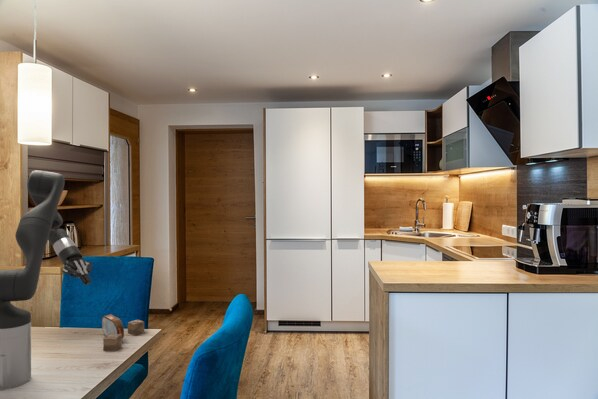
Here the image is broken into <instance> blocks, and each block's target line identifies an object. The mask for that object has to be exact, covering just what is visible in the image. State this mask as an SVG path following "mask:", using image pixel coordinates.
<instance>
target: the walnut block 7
mask: <svg viewBox="0 0 598 399" xmlns="http://www.w3.org/2000/svg"><path fill="white" fill-rule="evenodd" d="M127 333H128V335H132V336H138V335H141V334H144V333H145V321H143V320H140V319H135V320H131V321H127Z"/></svg>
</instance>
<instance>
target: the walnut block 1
mask: <svg viewBox="0 0 598 399" xmlns="http://www.w3.org/2000/svg"><path fill="white" fill-rule="evenodd" d="M102 340H103V352H116V350H117V351H118V350H119V349H120V348H122V347H123V339H122V334H109V335H108V336H105V337H104V338H103V339H102ZM121 346H122V347H121Z"/></svg>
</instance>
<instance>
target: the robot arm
mask: <svg viewBox="0 0 598 399" xmlns="http://www.w3.org/2000/svg"><path fill="white" fill-rule="evenodd" d="M65 179H66V178H65V177H64V175H63V174H61V173H58V172H52V171H45V170H37V169H35V170H32V171H30V173H29V175H28V179H27V183H26V184H27V186H26V187H27V192H28V194H29V196H30V198H31V200H32V201H33V204H34V205H35V207H33V208H32V209H30V210H28V211H27V212H26V213H24V215H23V216H21V218H20V219H19V222H18V224H17V228H16V231H15V241H16V243H17V244H18V246H19V248H20V249H21V251H22V253H23V255H24V257H25V260H26V261H25V262H26V264H25V267H24V268H22V269H2V270H0V390H1V391H3V390H6V389H11V388H15V387H19V386H21V385H24V384H26V383H27V382H29V381H30V380H31V379H32V314H31V311H29V310H26V309H22V308H19V307H17V306H16V305H13V304H12V302H22V301H23V302H24V301H28V300H31V299H33V297H34V296H35V294H36V291H37V288H38V283H39V278H40V274H41V267H42V263H43V259H44V258H43V257H44V254H45V251H46V247H47V244H48V242H49V243H50V245H51V246H52V248H53V250H54V252H55V254H56V255H57V257H58V259H59V260H60V262H61V263H62V264H63V265H64V266H63V268H62V269H61V272H62V273H63V274H66V275H68V276H70V277H72V278H74V279H76V278H78V279H80V281H81V282H82V284H83V285H85V286H88V285H90V284H91V283H92V279H91V278H90V276H89V274H90V273H91V272H92V268H93V267H92V266H93V262H92V261H89V262H87V260H85V259H84V258H83V255H82V252H81V251H80V249H79V248H78V246H77V245H76V244H75V242H74V241H73V240H72V238H71V237H70V236H69V234H68V233H67V231H66V229H63V228H60V227H61V226H62V225H63V223H64V220H63V217H62V215H61V214H60V213H59V212H58V205H59V202H60V200H61V197H62V194H63V190H64V188H65V184H66V183H65V181H66V180H65Z"/></svg>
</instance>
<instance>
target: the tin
mask: <svg viewBox="0 0 598 399" xmlns="http://www.w3.org/2000/svg"><path fill="white" fill-rule="evenodd" d="M101 327H102V328H101V329H102V332H103V334H104V335H105V337H106V336H108V335H109V334H122V340H123V339H124V337H125V336H124V335H125V328H124V325H123V322H122V320H121V319H120V318H119V317H117V316H115V315H113V314H112V313H110V314H107V315H104V316H102V318H101Z"/></svg>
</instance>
